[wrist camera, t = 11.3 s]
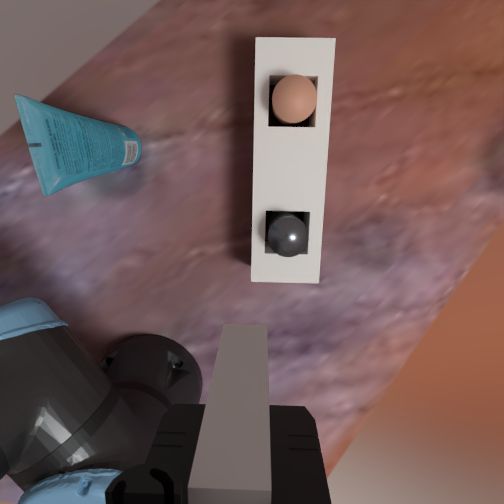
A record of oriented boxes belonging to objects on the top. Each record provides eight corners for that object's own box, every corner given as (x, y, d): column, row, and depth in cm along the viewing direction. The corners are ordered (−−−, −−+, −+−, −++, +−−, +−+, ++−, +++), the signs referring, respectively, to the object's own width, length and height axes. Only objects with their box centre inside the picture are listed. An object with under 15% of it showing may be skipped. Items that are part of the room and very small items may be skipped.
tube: (94, 121, 46) (-18, 103, 28) (132, 111, 46) (43, 86, 27) (114, 181, 48) (21, 201, 29) (150, 172, 48) (79, 187, 29)
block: (252, 266, 50) (251, 281, 45) (256, 52, 44) (255, 37, 38) (312, 267, 50) (318, 283, 45) (325, 53, 43) (335, 38, 38)
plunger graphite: (266, 241, 48) (267, 256, 41) (267, 206, 47) (268, 217, 40) (301, 241, 48) (307, 257, 41) (302, 207, 47) (310, 217, 40)
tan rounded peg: (269, 126, 45) (271, 122, 38) (271, 86, 44) (272, 73, 36) (307, 126, 45) (315, 122, 38) (309, 86, 43) (318, 74, 36)
